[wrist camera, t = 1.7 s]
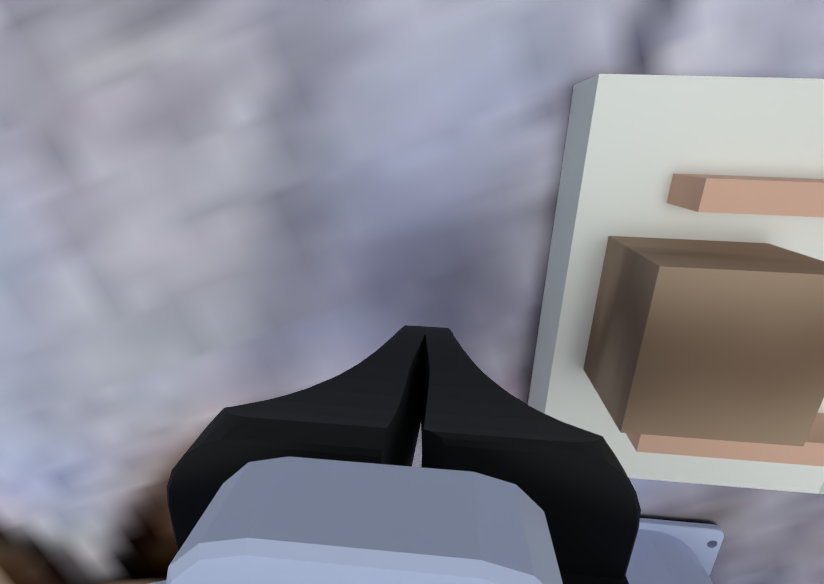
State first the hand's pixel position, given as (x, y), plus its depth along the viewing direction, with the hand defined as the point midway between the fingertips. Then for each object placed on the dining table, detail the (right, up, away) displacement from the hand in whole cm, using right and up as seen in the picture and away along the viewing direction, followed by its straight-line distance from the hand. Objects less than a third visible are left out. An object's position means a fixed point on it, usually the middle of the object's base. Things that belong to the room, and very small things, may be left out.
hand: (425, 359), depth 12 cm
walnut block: (+9, +1, +4) cm, 10 cm away
